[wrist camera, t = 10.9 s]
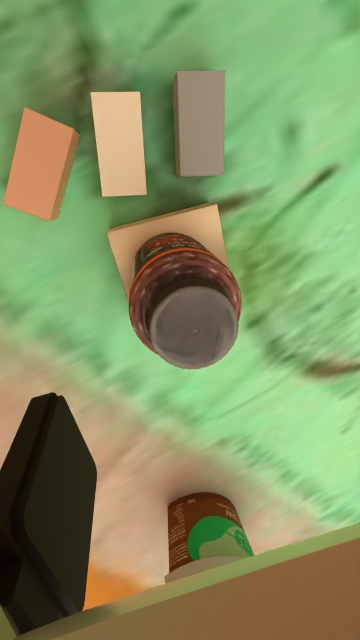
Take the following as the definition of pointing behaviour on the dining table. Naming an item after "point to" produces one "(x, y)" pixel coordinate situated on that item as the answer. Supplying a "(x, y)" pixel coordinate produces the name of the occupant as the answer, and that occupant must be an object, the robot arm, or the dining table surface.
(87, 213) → the dining table surface
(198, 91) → the brick slate
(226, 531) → the food container
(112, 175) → the brick cream
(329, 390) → the dining table surface
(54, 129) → the brick terracotta
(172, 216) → the oak slab
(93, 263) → the dining table surface
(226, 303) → the supplement bottle
